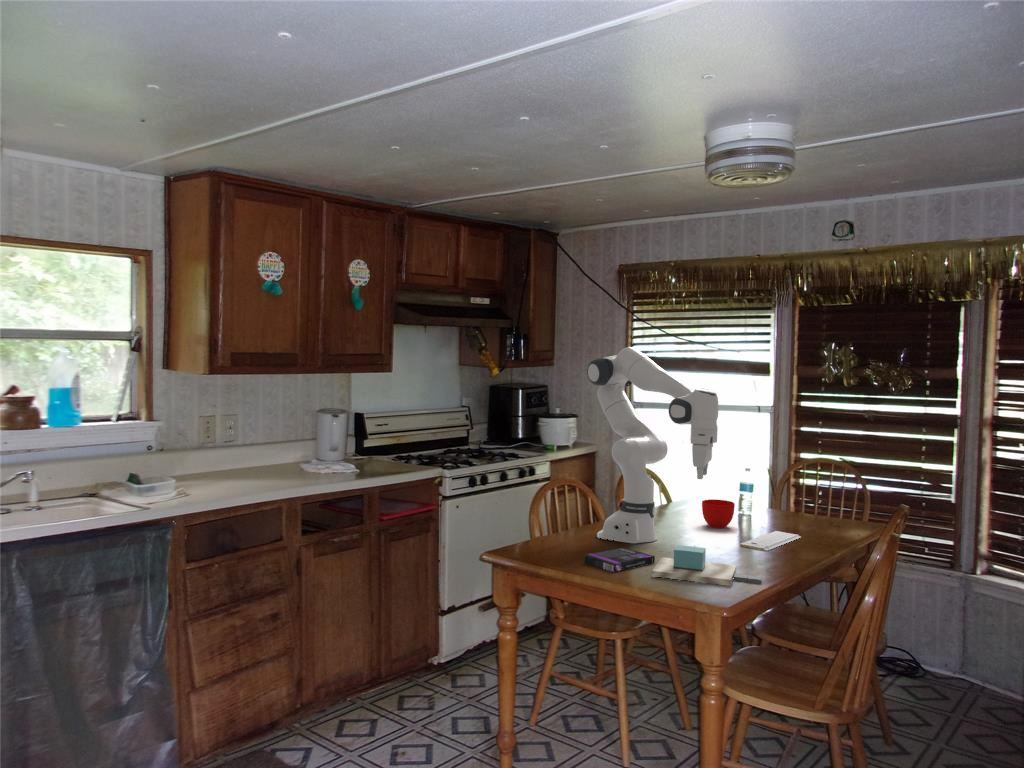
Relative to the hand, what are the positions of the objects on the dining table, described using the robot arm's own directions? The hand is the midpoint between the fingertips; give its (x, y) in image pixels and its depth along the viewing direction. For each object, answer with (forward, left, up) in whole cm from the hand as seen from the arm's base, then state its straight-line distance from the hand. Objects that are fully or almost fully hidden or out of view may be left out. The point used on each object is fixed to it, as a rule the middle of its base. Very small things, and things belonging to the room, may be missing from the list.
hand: (702, 476), depth 272 cm
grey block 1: (+15, -20, -29) cm, 38 cm away
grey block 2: (+19, -21, -27) cm, 39 cm away
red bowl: (-1, +57, -29) cm, 64 cm away
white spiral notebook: (+22, +37, -29) cm, 52 cm away
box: (-24, -17, -29) cm, 41 cm away
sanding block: (-1, -21, -26) cm, 33 cm away
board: (+1, -21, -28) cm, 35 cm away
